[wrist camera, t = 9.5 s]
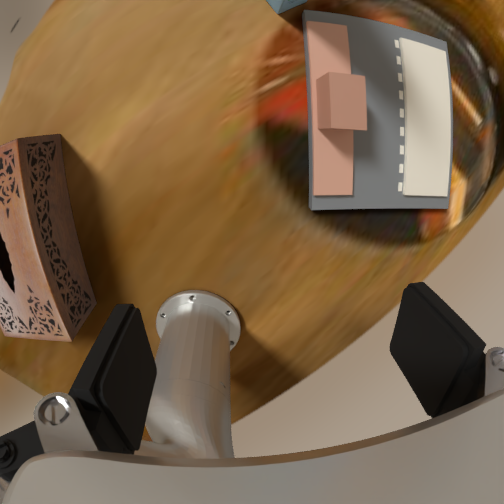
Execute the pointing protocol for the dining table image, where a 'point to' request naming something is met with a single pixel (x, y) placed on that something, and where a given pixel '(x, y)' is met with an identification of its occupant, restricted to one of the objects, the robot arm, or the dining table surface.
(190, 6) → the dining table surface
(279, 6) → the gum box
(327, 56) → the stub
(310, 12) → the board
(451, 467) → the robot arm
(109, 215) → the dining table surface
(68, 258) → the tissue box cover
